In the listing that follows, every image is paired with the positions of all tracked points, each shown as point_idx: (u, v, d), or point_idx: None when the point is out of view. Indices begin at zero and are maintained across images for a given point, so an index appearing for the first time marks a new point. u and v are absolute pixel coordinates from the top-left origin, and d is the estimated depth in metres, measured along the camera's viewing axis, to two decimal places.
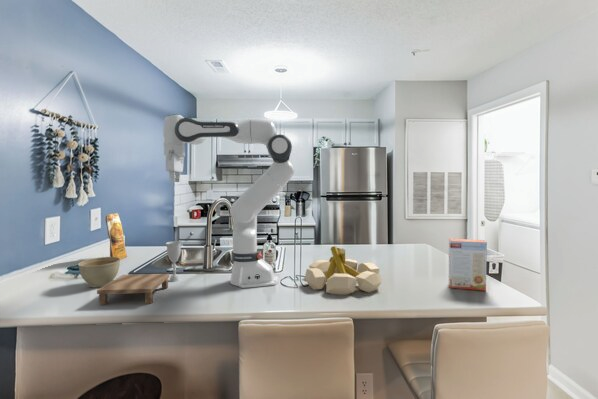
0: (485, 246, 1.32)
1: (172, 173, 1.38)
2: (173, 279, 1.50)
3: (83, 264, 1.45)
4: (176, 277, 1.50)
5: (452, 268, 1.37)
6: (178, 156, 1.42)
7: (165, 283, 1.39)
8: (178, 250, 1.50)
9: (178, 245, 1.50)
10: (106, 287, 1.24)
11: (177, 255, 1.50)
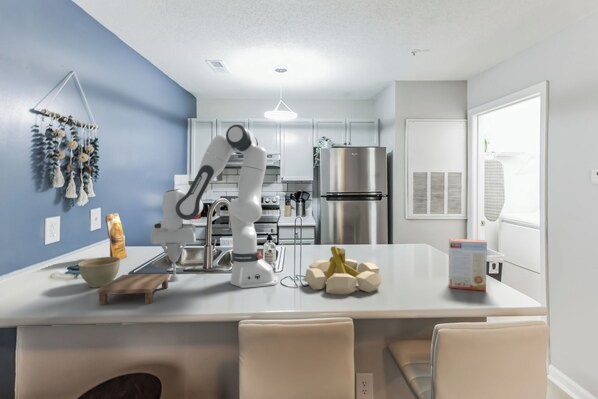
0: (485, 246, 1.32)
1: (185, 244, 1.51)
2: (173, 279, 1.50)
3: (83, 264, 1.45)
4: (176, 277, 1.50)
5: (452, 268, 1.37)
6: None
7: (165, 283, 1.39)
8: (178, 250, 1.50)
9: (178, 245, 1.50)
10: (106, 287, 1.24)
11: (177, 255, 1.50)
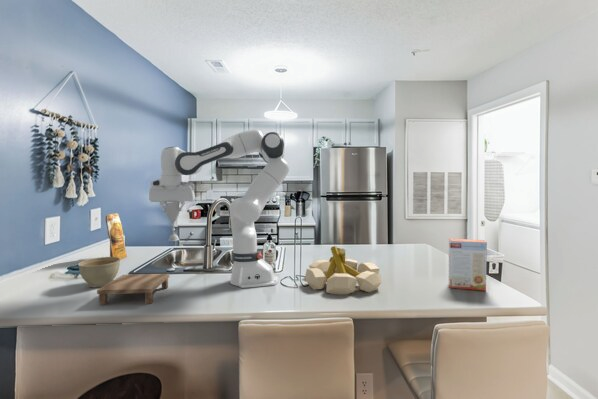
0: (485, 246, 1.32)
1: (184, 203, 1.50)
2: (172, 238, 1.49)
3: (83, 264, 1.45)
4: (175, 237, 1.49)
5: (452, 268, 1.37)
6: None
7: (165, 283, 1.39)
8: (177, 209, 1.49)
9: (177, 204, 1.49)
10: (106, 287, 1.24)
11: (176, 214, 1.49)
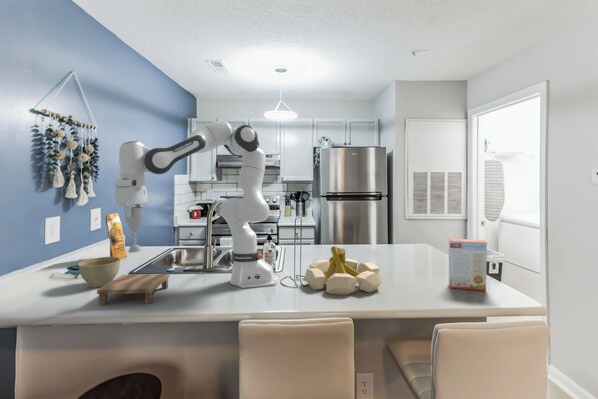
0: (485, 246, 1.32)
1: None
2: (140, 248, 1.31)
3: (83, 264, 1.45)
4: None
5: (452, 268, 1.37)
6: None
7: (165, 283, 1.39)
8: None
9: None
10: (106, 287, 1.24)
11: None
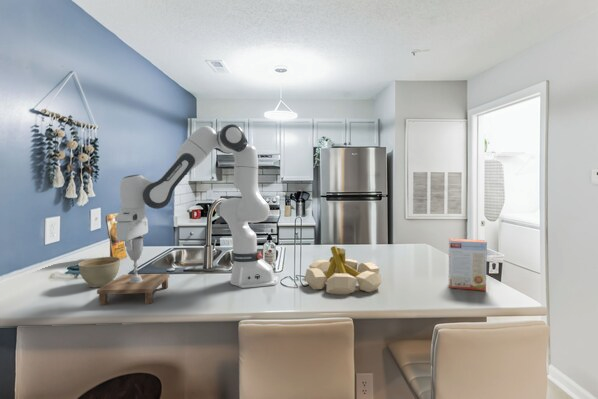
0: (485, 246, 1.32)
1: None
2: (141, 278, 1.31)
3: (83, 264, 1.45)
4: None
5: (452, 268, 1.37)
6: None
7: (165, 283, 1.39)
8: None
9: None
10: (106, 287, 1.24)
11: None
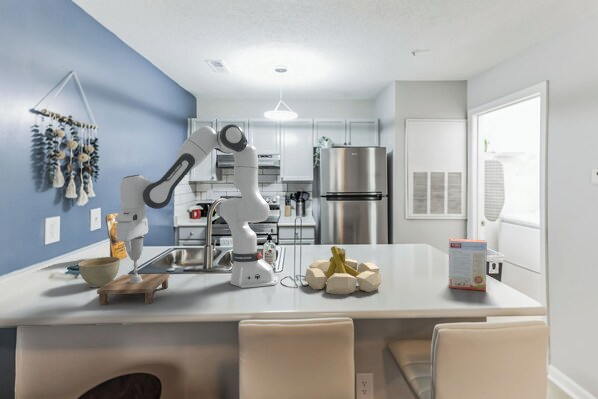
0: (485, 246, 1.32)
1: None
2: (141, 278, 1.31)
3: (83, 264, 1.45)
4: None
5: (452, 268, 1.37)
6: None
7: (165, 283, 1.39)
8: None
9: None
10: (106, 287, 1.24)
11: None
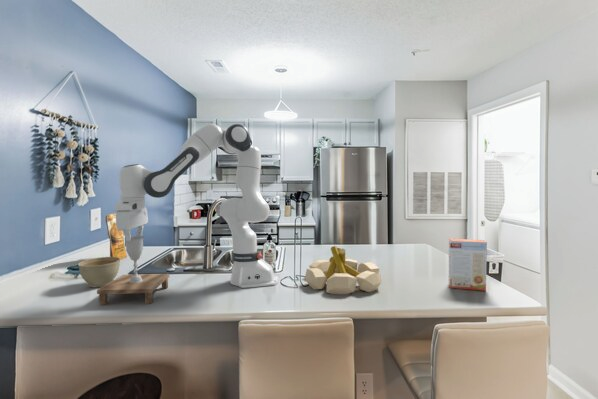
0: (485, 246, 1.32)
1: None
2: (141, 278, 1.31)
3: (83, 264, 1.45)
4: None
5: (452, 268, 1.37)
6: None
7: (165, 283, 1.39)
8: None
9: None
10: (106, 287, 1.24)
11: None
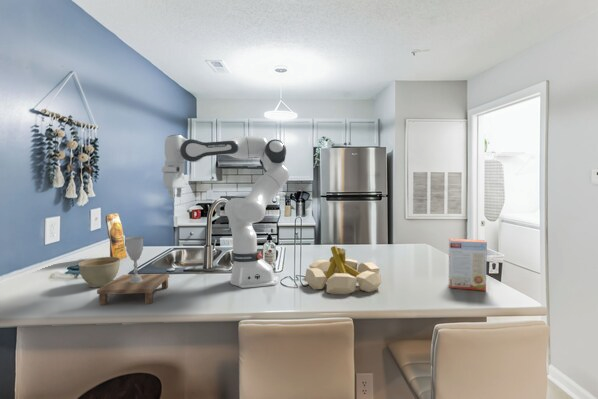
0: (485, 246, 1.32)
1: None
2: (141, 278, 1.31)
3: (83, 264, 1.45)
4: None
5: (452, 268, 1.37)
6: None
7: (165, 283, 1.39)
8: None
9: None
10: (106, 287, 1.24)
11: None
